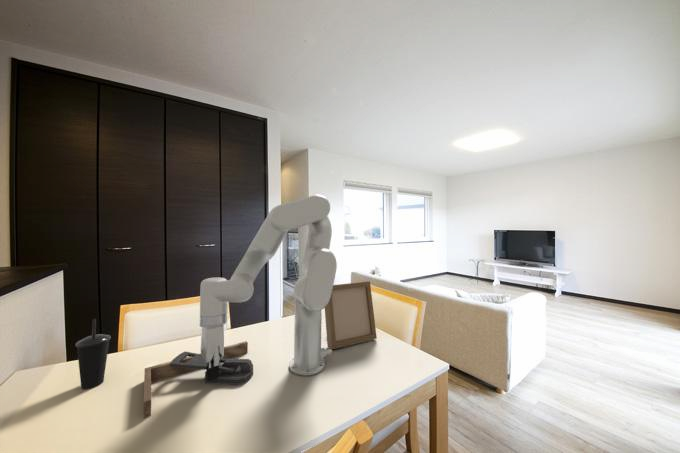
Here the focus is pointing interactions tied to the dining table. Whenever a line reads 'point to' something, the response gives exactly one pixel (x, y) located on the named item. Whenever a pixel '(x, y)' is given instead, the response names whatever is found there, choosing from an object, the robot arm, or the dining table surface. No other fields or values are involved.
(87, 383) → the drinking cup
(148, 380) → the wooden l-shaped bracket
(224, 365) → the zipper pull
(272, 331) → the dining table surface
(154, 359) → the dining table surface
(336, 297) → the photo frame
